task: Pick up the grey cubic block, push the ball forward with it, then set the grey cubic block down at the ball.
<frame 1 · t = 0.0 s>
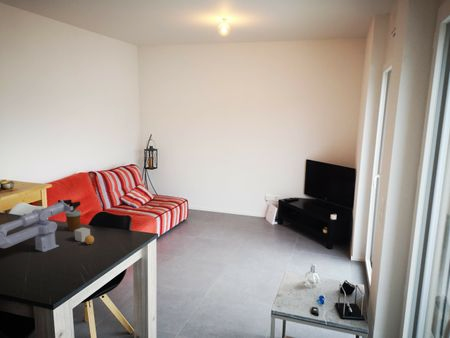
hand: (75, 202, 206), 22 cm above the table, tool horizontal, fingers open, 7 cm apart
grey cubic block: (82, 239, 206), on the table
ball: (89, 239, 199), on the table
disposable coffee cup: (74, 229, 222), on the table
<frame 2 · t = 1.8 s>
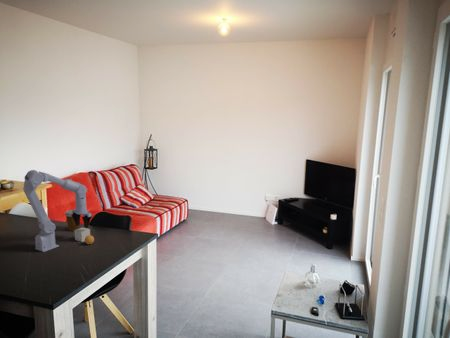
hand: (82, 226, 205), 8 cm above the table, tool pointing down, fingers open, 7 cm apart
nothing on the table moved.
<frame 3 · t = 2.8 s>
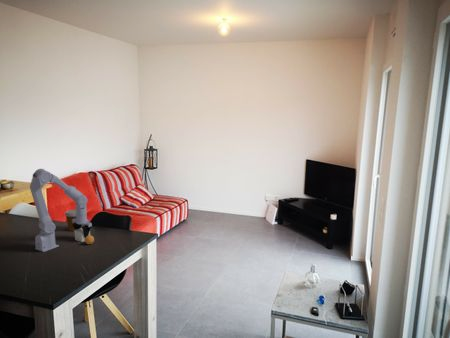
hand: (82, 236, 206), 2 cm above the table, tool pointing down, fingers closed on grey cubic block, 6 cm apart
grey cubic block: (82, 239, 206), on the table, touching gripper
everything else where it was.
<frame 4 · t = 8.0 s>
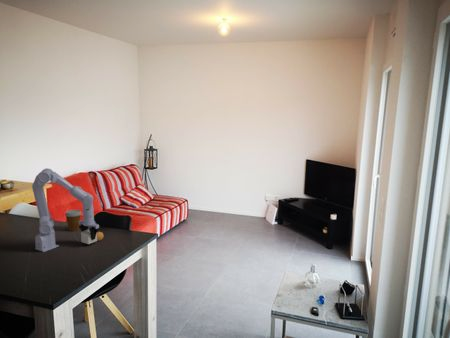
hand: (89, 238, 199), 3 cm above the table, tool pointing down, fingers closed on grey cubic block, 6 cm apart
grey cubic block: (89, 241, 199), point 2 cm above the table, touching gripper
ball: (99, 236, 205), on the table
everything else where it was.
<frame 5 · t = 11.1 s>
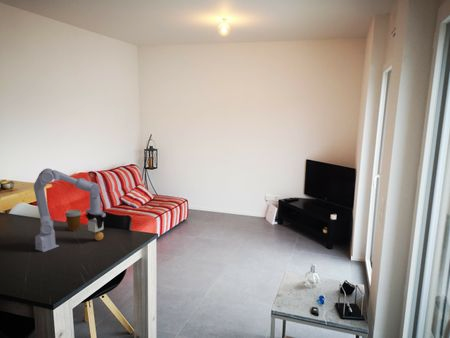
hand: (96, 226, 202), 9 cm above the table, tool pointing down, fingers closed on grey cubic block, 6 cm apart
grey cubic block: (95, 229, 203), point 7 cm above the table, touching gripper
everything else where it was.
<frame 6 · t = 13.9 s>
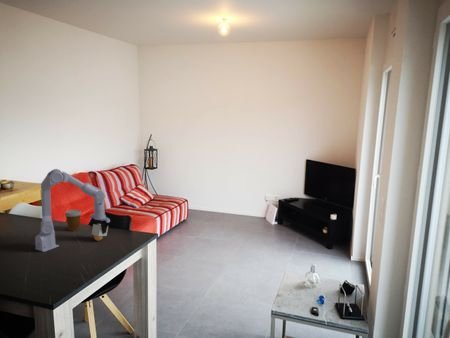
hand: (100, 231, 206), 5 cm above the table, tool pointing down, fingers closed on grey cubic block, 6 cm apart
grey cubic block: (99, 235, 205), point 3 cm above the table, tilted 15°, touching gripper
when the fingers open (3 cm above the table, at t = 15.1 s): grey cubic block drops 2 cm, on the table.
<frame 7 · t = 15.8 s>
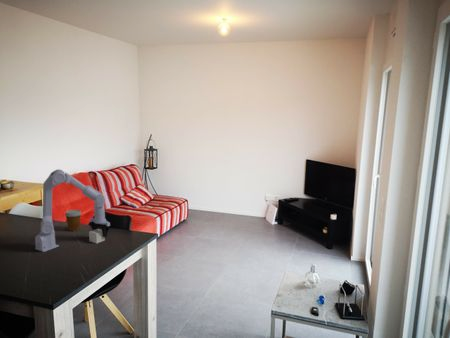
hand: (100, 235, 206), 3 cm above the table, tool pointing down, fingers open, 7 cm apart
grey cubic block: (97, 240, 204), on the table
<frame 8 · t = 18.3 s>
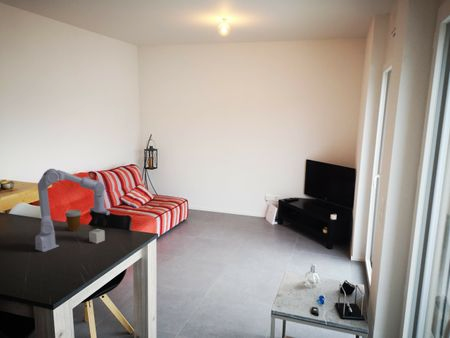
hand: (100, 224, 205), 9 cm above the table, tool pointing down, fingers open, 7 cm apart
at the end: ball 0.3 cm from the grey cubic block (horizontally); grey cubic block on the table; ball moved 5.7 cm from its start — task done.
